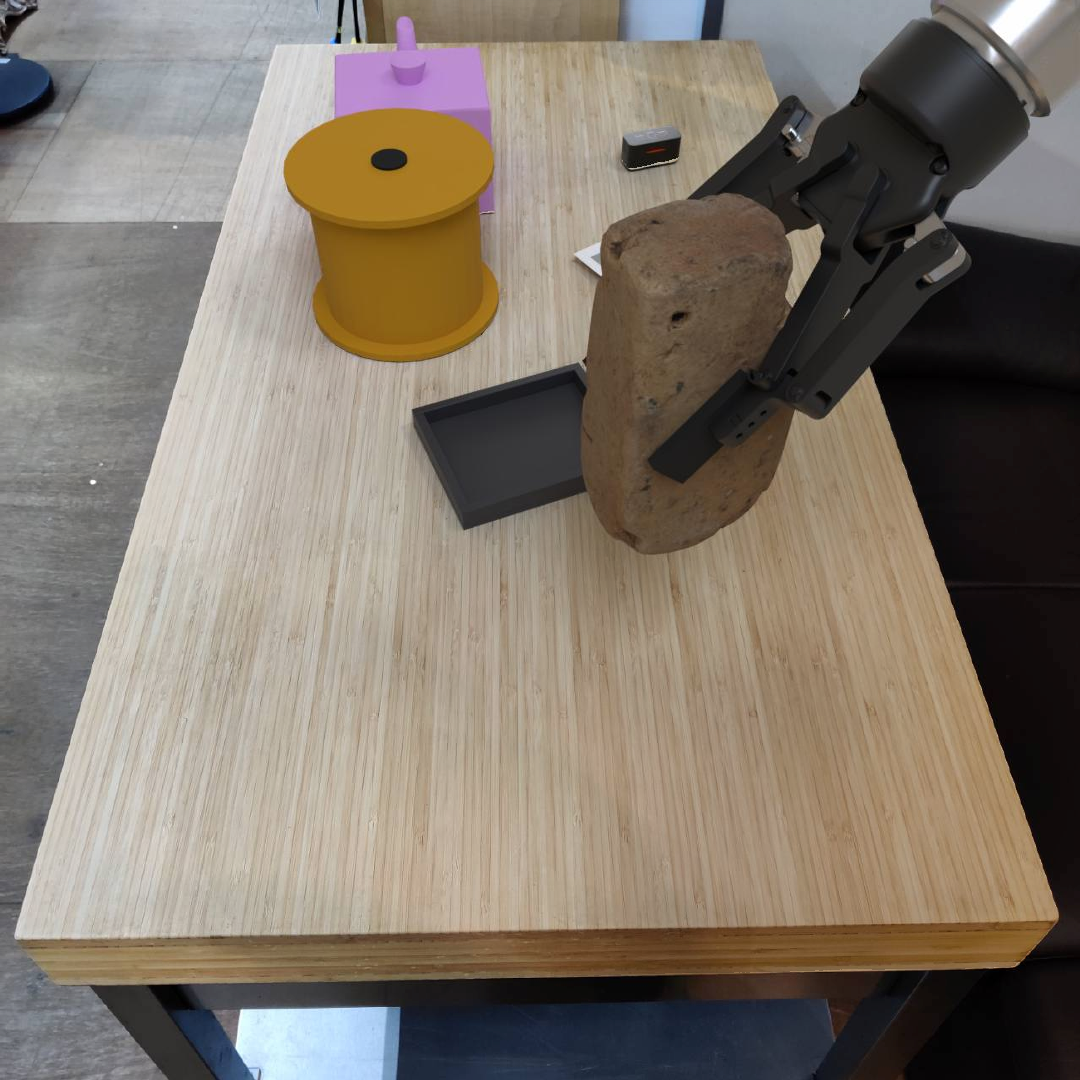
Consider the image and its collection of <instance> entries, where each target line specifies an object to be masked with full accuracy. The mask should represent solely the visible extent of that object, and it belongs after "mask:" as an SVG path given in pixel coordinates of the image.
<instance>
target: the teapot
mask: <svg viewBox="0 0 1080 1080" xmlns="http://www.w3.org/2000/svg"><path fill="white" fill-rule="evenodd" d="M416 39H417V38H416V35H415V26H414V23H413V20H412V19H411V18H410V17H409V16H406V15H405V16H400V17H399V18H398V19H397V21H396V50H391V51H390V50H387V51H375V52H374V51H371V52H356V53H355V52H354V53H340V54H339V53H338V54H335V55H334V118H333V119H336V118H338V117H341V116H345V115H349V114H353V113H356V112H361V111H368V110H374V109H387V108H410V109H421V110H427V111H434V112H438V113H442V114H445V115H449V116H452V117H454V118H457V119H459V120H461V121H464V122H466V123H468V124H469V125H471V126H472V127H474V128H475V129H477V130H478V131H479V132H480V133H481V134H482V135H483V136H484V137H485V138H486V139H487V140H488V142H489V144H490V146H491V148H492V149H493V141H492V140H493V137H492V114H491V113H492V111H491V104H490V100H489V95H488V89H487V84H486V79H485V78H486V77H485V73H484V67H483V63H482V62H483V61H482V57H481V52H480V48H479V47H478V46H464V47H463V46H462V47H446V48H445V47H443V48H428V49H427V48H426V49H425V48H423V49H419V48H418V44H417V41H416ZM494 194H495V193H494V177H493V178H492V180H491V182H490V184H489V186H488V187H487V189H486V191H485V192H484V193H483V194H482V195H481V196H480V197H479V213H482V212H488V211H494V212H495V196H494Z"/></svg>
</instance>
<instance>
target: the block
mask: <svg viewBox="0 0 1080 1080" xmlns="http://www.w3.org/2000/svg"><path fill="white" fill-rule="evenodd" d="M600 242H601V246H600V258H601V269H602V276H600V277H599V278H598V279H597V282H596V286H595V291H594V297H593V301H592V302H593V303H592V308H591V315H590V321H589V332H588V333H589V334H588V339H587V349H586V356H587V357H586V356H585V357H586V366H585V372H586V382H587V392H586V394H585V397H584V401H583V409H582V420H581V465H582V473H583V478H584V483H585V487H586V489H587V491H586V492H587V495H588V498H589V502H590V504H591V506H592V509H593V511H594V513H595V515H596V517H597V520H598V521H599V523H600V524H601V526H602V527H603V529H604V530H605V532H606V533H607V534H608V535H609V536H610V537H612V538H613V539H614V540H616V541H621V542H622V543H624V544H625V545H627V546H628V547H630V548H631V549H632V550H633V551H635V552H636V553H639V554H642V555H649V556H654V555H656V556H657V555H665V554H671V553H674V552H678V551H681V550H685V549H689V548H691V547H695V546H697V545H699V544H701V543H704V542H705V541H706V540H708V539H710V538H711V537H715V535H716V534H717V533H718V532H719V531H720V530H721V529H724V528H726V527H727V526H730V525H733V524H734V523H735V522H736V521H738V520H739V519H741V518H742V517H743V516H744V515H745V514H746V513H748V512H749V511H750V510H751V509H752V508H753V507H754V506H755V504H756V503H757V501H758V500H759V499H760V497H761V495H762V494H763V493H764V492H767V491H768V490H769V489H770V486H771V484H772V482H773V480H774V478H775V476H776V473H777V470H778V467H779V464H780V462H781V460H782V456H783V453H784V449H785V446H786V443H787V439H788V436H789V432H790V430H791V425H792V422H793V418H794V415H795V412H796V410H795V409H793V408H789V407H786V408H782V409H780V410H779V411H777V412H776V413H775V414H774V415H773V416H772V417H771V418H770V419H769V420H768V421H766V422H765V423H764V424H763V425H762V426H761V427H760V428H759V429H758V430H756V431H755V433H754V434H753V435H751V436H750V437H749V438H748V439H747V440H746V441H745V442H744V443H743V444H742V445H740V446H738V447H736V448H733V449H731V448H730V447H728V446H726V445H724V446H723V447H721V448H720V449H719V450H718V451H717V452H716V453H715V454H714V455H713V456H712V457H711V458H710V459H709V460H708V461H707V462H706V463H705V464H704V465H702V466H701V467H700V468H699V469H698V470H697V471H696V472H695V473H694V474H693V475H692V476H691V477H690V478H689V479H688V480H687V481H686V482H684V483H683V484H681V483H679V482H677V481H675V480H673V479H671V478H669V477H667V476H665V475H663V474H661V473H659V472H657V471H655V470H653V468H652V467H651V465H650V464H649V462H648V461H647V459H648V458H649V457H650V456H651V455H652V454H654V453H655V452H656V451H657V450H658V449H659V448H660V447H661V446H662V445H663V444H664V443H665V442H666V441H667V440H668V439H669V438H670V437H671V436H672V435H673V434H674V433H675V432H676V431H677V430H678V429H679V428H680V427H681V426H682V425H683V424H684V423H685V422H686V421H687V420H688V419H689V418H690V417H691V416H692V415H693V414H694V413H695V412H696V411H697V410H698V409H700V408H701V407H702V406H703V405H704V404H705V403H706V402H707V401H708V400H709V399H710V398H711V397H712V396H713V395H714V394H715V393H716V392H717V391H718V390H719V389H720V388H721V387H722V386H723V385H724V384H725V383H726V382H727V381H728V380H729V379H730V378H731V377H732V376H733V375H734V374H735V373H736V372H737V371H738V370H739V369H741V370H743V371H744V372H745V373H747V370H748V368H751V369H752V370H753V369H754V370H756V371H758V369H759V367H760V365H761V364H762V362H763V360H764V358H765V356H766V355H767V353H768V351H769V349H770V347H771V346H772V344H773V342H774V340H775V338H776V336H777V335H778V333H779V331H780V330H781V329H782V328H783V326H784V324H785V321H786V319H787V316H788V315H789V313H790V311H791V309H792V307H793V305H792V304H790V302H789V300H788V299H787V298H786V292H787V290H788V288H789V283H790V282H789V281H790V278H791V277H792V276H791V275H792V274H793V271H794V260H793V259H794V258H793V251H792V250H793V249H792V247H791V243H790V240H789V239H788V237H787V235H785V229H784V225H783V224H782V222H781V221H780V219H779V218H778V216H777V215H775V214H774V213H772V212H771V211H769V210H768V209H767V208H766V207H764V206H762V205H760V204H759V203H757V202H755V201H753V200H752V199H750V198H746V197H744V196H742V195H740V194H732V193H722V194H719V195H709V196H707V197H704V198H702V199H700V200H689V199H687V198H686V199H677V200H672V201H669V202H666V203H662V204H660V205H657V206H653V207H650V208H647V209H643V210H641V211H638V212H636V213H633V214H631V215H628V216H626V217H624V218H621V219H620V220H618V221H615V222H613V223H611V224H610V225H609V226H608V227H607V229H606V230H605V232H604V233H603V234H602V237H601V241H600Z"/></svg>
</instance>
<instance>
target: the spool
mask: <svg viewBox="0 0 1080 1080" xmlns="http://www.w3.org/2000/svg"><path fill="white" fill-rule="evenodd" d="M495 168H496V167H495V156H494V149H493V147H492V148H491V146H490V144H489V142H488V140H487V139H486V138H485V137H484V136H483V135H482V134H481V133H480V132H479V131H478V130H477V129H475V128H474V127H472V126H471V125H469V124H468V123H466V122H464V121H461V120H459V119H457V118H454V117H452V116H449V115H445V114H442V113H438V112H434V111H427V110H421V109H410V108H387V109H374V110H368V111H361V112H356V113H353V114H349V115H345V116H341V117H338V118H336V119H334V118H333V119H331V120H328V121H325V122H323V123H321V124H319V125H318V126H316V127H314V128H313V129H311V130H309V131H308V132H306V133H305V134H303V135H302V136H301V137H300V138H298V139H297V140H296V142H295V143H294V144H293V145H292V147H290V149H289V150H288V152H287V155H286V157H285V159H284V162H283V171H282V173H283V178H284V181H285V186H286V189H287V192H288V193H289V195H290V196H291V197H292V199H293V201H294V202H295V203H296V204H298V205H299V206H300V207H301V208H302V209H304V210H305V211H306V212H307V213H309V216H310V221H311V226H312V232H313V235H314V240H315V241H314V242H315V246H316V251H317V255H318V261H319V266H320V272H321V277H320V279H319V280H318V281H317V282H316V285H315V288H314V291H313V293H312V305H311V307H312V311H313V315H314V318H315V322H316V324H317V326H318V328H319V329H320V331H321V333H322V335H324V336H325V337H326V338H327V339H328V340H329V341H330V342H332V343H333V344H334V345H335V346H337V347H339V348H341V349H342V350H344V351H346V352H348V353H351V354H353V355H357V356H359V357H362V358H366V359H371V360H377V361H380V362H396V363H397V362H398V363H402V362H415V361H417V362H418V361H424V360H427V359H433V358H437V357H441V356H443V355H447V354H449V353H453V352H455V351H457V350H459V349H461V348H463V347H465V346H467V345H468V344H470V343H471V342H473V341H474V340H476V339H477V338H478V337H479V336H481V335H482V334H484V332H485V331H486V330H487V328H488V327H489V326H490V325H491V324H492V322H493V321H494V318H495V317H496V314H497V313H498V310H499V309H498V308H499V303H500V292H499V286H498V285H499V283H498V281H497V279H496V276H495V275H494V272H493V271H492V270H491V269H490V268H489V266H488V265H487V264H486V263H485V262H484V261H483V258H482V238H481V220H480V219H481V218H480V217H481V214H479V197H480V196H481V195H482V194H483V193H484V192H485V191H486V189H487V187H488V186H489V184H490V182H491V180H492V178H493V179H494V173H495Z"/></svg>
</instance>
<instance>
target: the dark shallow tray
mask: <svg viewBox="0 0 1080 1080" xmlns="http://www.w3.org/2000/svg"><path fill="white" fill-rule="evenodd" d="M586 392H587V382H586V370H585V369H584V368H583V366H582V365H581V363H580V362H575V363H574V362H573V363H570V364H567V365H564V366H561V367H557V368H556V367H555V368H553V369H549V370H545V371H542V372H538V373H535V374H532V375H528V376H525V377H521V378H517V379H514V380H511V381H505V382H503V383H500V384H495V385H493V386H489V387H485V388H482V389H478V390H474V391H471V392H468V393H464V394H460V395H457V396H453V397H450V398H446V399H442V400H439V401H435V402H431V403H428V404H425V405H421V406H418V407H414V408H412V409H411V414H412V415H411V416H412V422H413V428H414V430H415V432H416V434H417V436H418V438H419V440H420V442H421V444H422V447H423V448H424V450H425V452H426V455H427V457H428V460H429V461H430V463H431V465H432V467H433V469H434V472H435V473H436V475H437V477H438V480H439V482H440V484H441V486H442V488H443V491H444V492H445V494H446V497H447V499H448V501H449V503H450V505H451V506H452V509H453V511H454V513H455V515H456V517H457V519H458V521H459V523H460V525H461V527H462V529H463V530H464V531H465V530H469V529H471V528H475V527H478V526H481V525H484V524H488V523H491V522H493V521H497V520H501V519H504V518H506V517H509V516H512V515H516V514H519V513H523V512H525V511H529V510H531V509H535V508H538V507H541V506H544V505H548V504H550V503H553V502H557V501H560V500H563V499H565V498H566V499H567V498H569V497H573V496H575V495H579V494H582V493H586V492H587V489H586V487H585V483H584V478H583V473H582V465H581V420H582V409H583V401H584V397H585V394H586Z"/></svg>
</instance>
